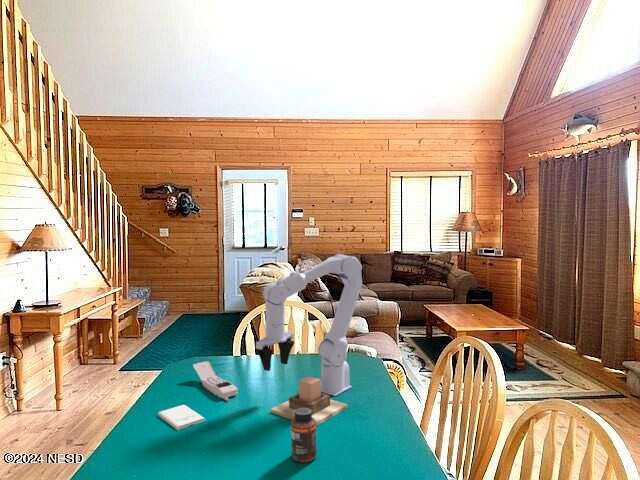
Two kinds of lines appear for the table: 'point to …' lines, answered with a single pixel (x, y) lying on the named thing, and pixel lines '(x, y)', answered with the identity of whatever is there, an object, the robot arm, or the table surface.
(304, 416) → the supplement bottle
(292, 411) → the socket board
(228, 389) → the mobile phone
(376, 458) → the table surface
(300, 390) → the square peg
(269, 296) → the robot arm
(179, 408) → the external hard drive
